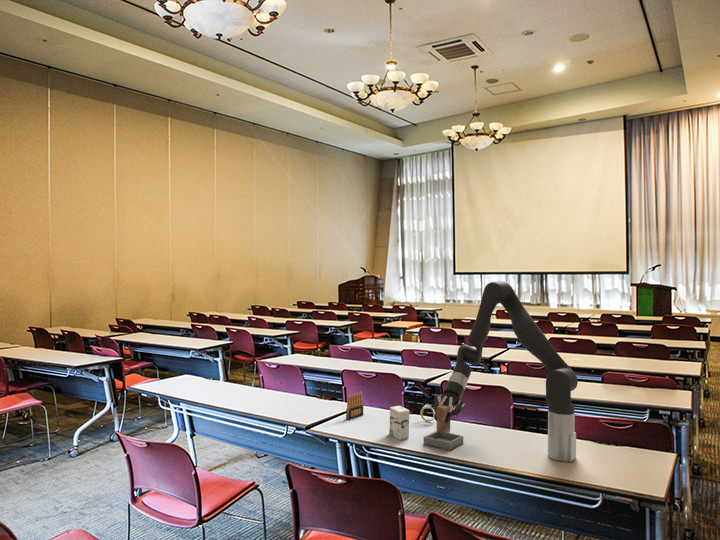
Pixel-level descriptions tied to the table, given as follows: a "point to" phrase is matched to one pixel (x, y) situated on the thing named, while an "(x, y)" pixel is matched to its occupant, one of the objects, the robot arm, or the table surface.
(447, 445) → the desk tray
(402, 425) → the ink box
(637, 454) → the table surface
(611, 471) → the table surface
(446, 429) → the walnut block
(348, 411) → the ammunition clip
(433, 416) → the ring
